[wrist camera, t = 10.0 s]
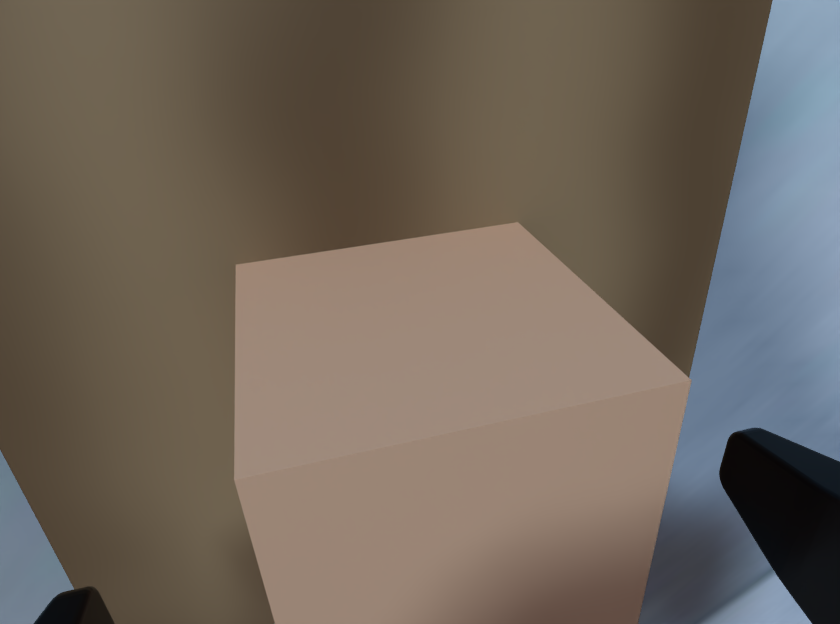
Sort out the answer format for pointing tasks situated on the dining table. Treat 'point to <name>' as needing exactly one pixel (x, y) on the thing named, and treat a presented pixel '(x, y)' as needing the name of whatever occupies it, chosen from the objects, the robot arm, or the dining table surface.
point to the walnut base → (310, 218)
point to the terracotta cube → (448, 435)
